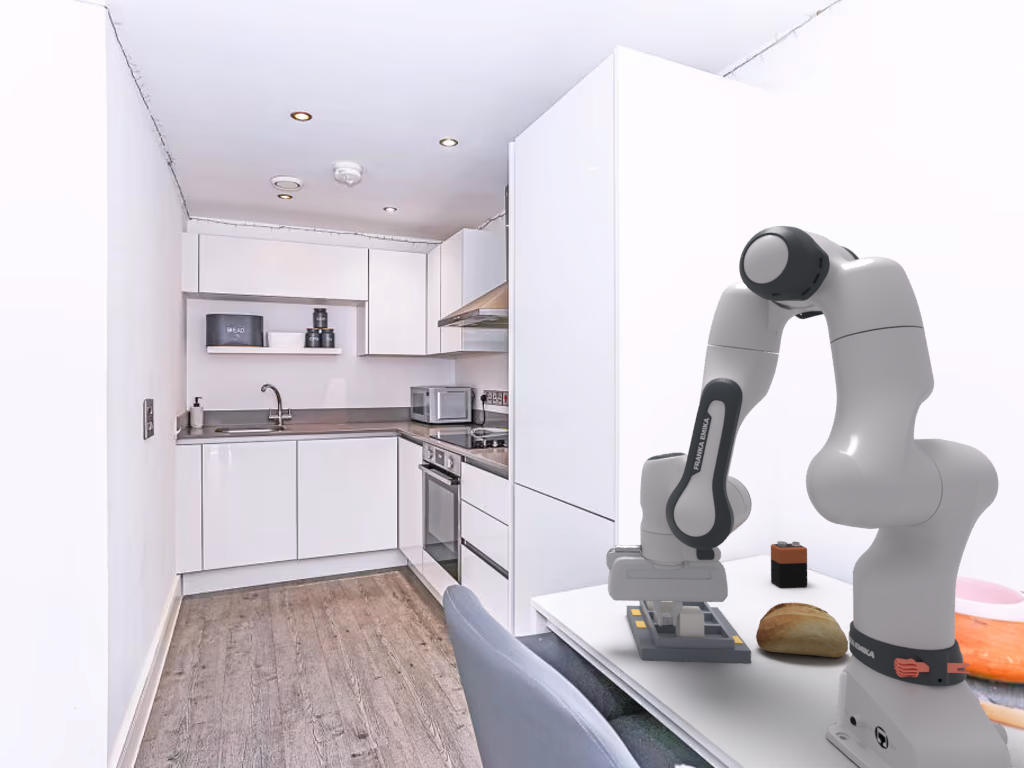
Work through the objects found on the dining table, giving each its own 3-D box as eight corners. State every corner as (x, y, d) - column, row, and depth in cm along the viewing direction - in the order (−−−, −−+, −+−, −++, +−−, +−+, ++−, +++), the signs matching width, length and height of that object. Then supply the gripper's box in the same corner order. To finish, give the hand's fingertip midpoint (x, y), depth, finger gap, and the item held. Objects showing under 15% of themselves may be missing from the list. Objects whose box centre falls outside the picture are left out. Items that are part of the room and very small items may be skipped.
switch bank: (751, 662, 101) (750, 641, 101) (641, 660, 102) (641, 639, 102) (717, 617, 121) (717, 599, 121) (626, 615, 122) (626, 598, 122)
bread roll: (747, 639, 110) (747, 595, 110) (832, 642, 109) (832, 597, 109) (765, 663, 101) (765, 615, 101) (859, 666, 99) (858, 617, 100)
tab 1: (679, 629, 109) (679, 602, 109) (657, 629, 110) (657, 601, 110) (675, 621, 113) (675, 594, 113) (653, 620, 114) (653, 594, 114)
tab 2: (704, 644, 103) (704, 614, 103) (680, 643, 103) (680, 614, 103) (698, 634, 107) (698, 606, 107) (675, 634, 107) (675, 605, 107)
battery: (770, 582, 142) (769, 540, 142) (797, 581, 143) (797, 539, 143) (780, 588, 138) (779, 544, 138) (808, 587, 138) (808, 543, 138)
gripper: (608, 549, 103) (608, 631, 103) (730, 551, 102) (731, 633, 102) (604, 540, 109) (604, 617, 109) (719, 541, 108) (720, 619, 108)
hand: (666, 625), depth 105 cm, fingers closed
